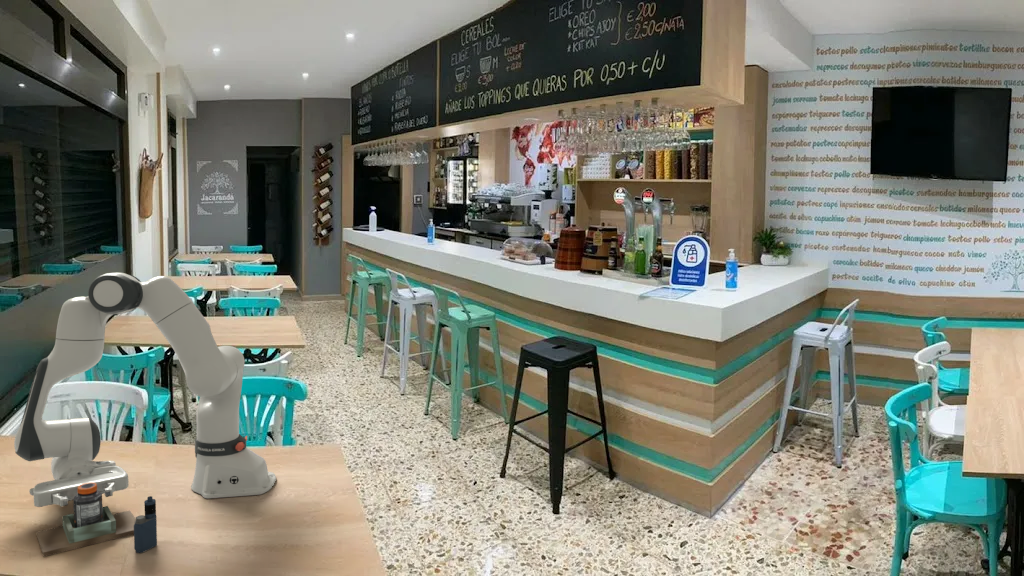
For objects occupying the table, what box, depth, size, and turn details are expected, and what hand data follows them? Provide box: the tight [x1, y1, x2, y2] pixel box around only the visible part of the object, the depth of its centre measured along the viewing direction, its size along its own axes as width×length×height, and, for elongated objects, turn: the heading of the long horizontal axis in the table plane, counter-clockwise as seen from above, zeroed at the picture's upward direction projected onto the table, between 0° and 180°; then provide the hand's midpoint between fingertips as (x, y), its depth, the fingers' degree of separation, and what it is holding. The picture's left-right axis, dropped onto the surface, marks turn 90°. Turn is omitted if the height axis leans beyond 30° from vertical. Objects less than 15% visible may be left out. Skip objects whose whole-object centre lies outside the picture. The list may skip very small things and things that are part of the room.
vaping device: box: [133, 495, 158, 554], centre depth 162 cm, size 3×5×12 cm, turn 155°
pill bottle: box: [72, 483, 104, 528], centre depth 168 cm, size 6×6×11 cm
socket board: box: [36, 505, 136, 557], centre depth 168 cm, size 20×12×4 cm, turn 130°
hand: (87, 498), depth 169 cm, fingers open, 8 cm apart
